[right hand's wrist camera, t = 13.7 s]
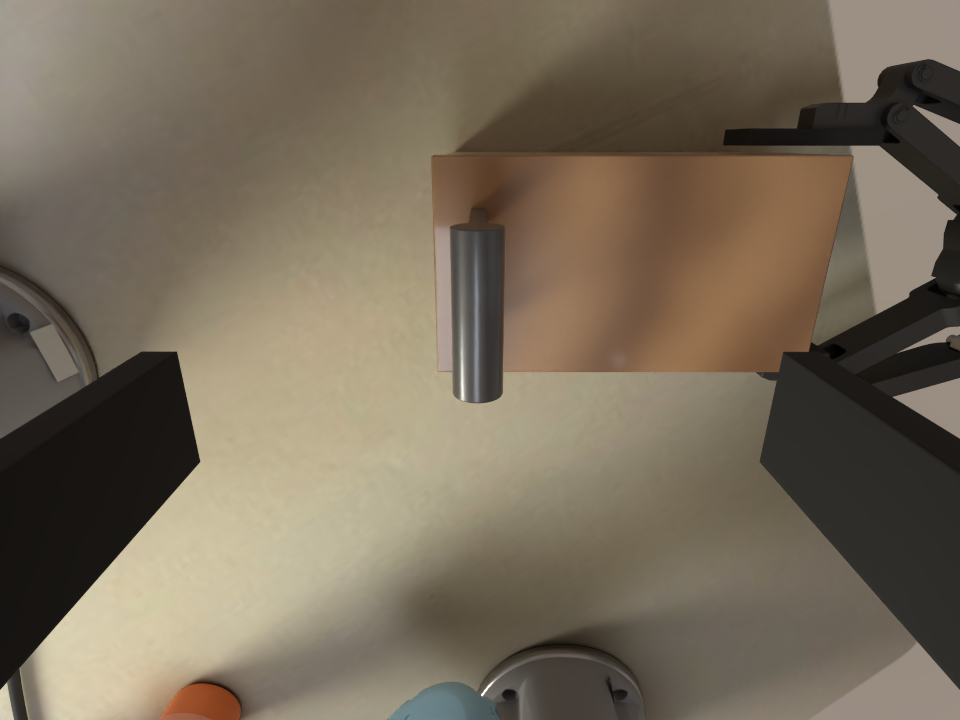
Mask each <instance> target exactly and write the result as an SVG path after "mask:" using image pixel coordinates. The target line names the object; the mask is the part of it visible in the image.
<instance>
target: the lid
mask: <svg viewBox="0 0 960 720" xmlns="http://www.w3.org/2000/svg"><path fill="white" fill-rule="evenodd" d="M852 161H853V156H852V155H433V156H432V157H431V164H432V198H433V231H434V264H435V298H436V331H437V364H438V372H453V394H454V396H455V397H456V398H457V399H459V400H461V401H464V402H469V403H486V402H491V401H494V400H497V399H498V398H500V397H501V396H502V394H503V372H779V369H780V364H781V359H782V355H783V352H809V348H810V344H811V339H812V335H813V331H814V326H815V322H816V318H817V313H818V309H819V305H820V300H821V296H822V292H823V287H824V283H825V278H826V274H827V270H828V265H829V261H830V257H831V252H832V248H833V244H834V239H835V235H836V231H837V226H838V222H839V218H840V213H841V209H842V205H843V200H844V196H845V191H846V187H847V183H848V178H849V174H850V170H851V165H852Z"/></svg>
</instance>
